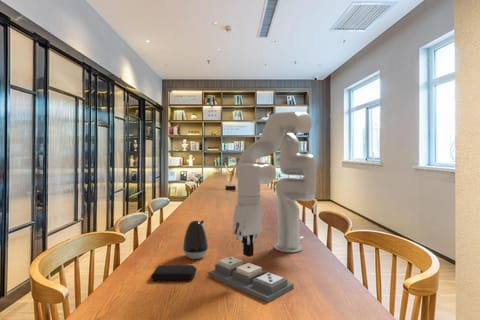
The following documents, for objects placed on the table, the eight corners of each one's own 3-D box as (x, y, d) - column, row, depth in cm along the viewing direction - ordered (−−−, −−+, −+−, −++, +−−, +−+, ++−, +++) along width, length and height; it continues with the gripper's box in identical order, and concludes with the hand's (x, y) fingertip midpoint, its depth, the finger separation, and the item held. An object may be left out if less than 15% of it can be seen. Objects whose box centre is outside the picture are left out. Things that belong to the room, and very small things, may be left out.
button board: (234, 265, 116) (234, 256, 116) (293, 288, 98) (293, 277, 97) (208, 275, 107) (208, 266, 107) (267, 302, 88) (267, 290, 88)
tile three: (268, 278, 100) (268, 271, 100) (283, 284, 96) (283, 277, 96) (256, 284, 96) (256, 277, 96) (271, 290, 92) (271, 283, 92)
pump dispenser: (213, 255, 128) (212, 219, 128) (197, 263, 119) (197, 224, 119) (194, 251, 133) (193, 216, 133) (177, 258, 124) (177, 221, 124)
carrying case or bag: (197, 270, 113) (157, 270, 113) (197, 262, 113) (157, 262, 113) (193, 283, 102) (149, 283, 102) (193, 274, 102) (149, 274, 102)
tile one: (248, 268, 107) (248, 262, 106) (261, 273, 102) (261, 266, 102) (236, 273, 102) (236, 266, 102) (249, 278, 98) (249, 271, 98)
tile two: (230, 261, 113) (230, 255, 113) (242, 266, 109) (242, 259, 109) (218, 266, 109) (218, 260, 108) (230, 270, 104) (230, 264, 104)
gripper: (255, 197, 109) (254, 248, 110) (224, 201, 99) (224, 257, 99) (271, 199, 104) (271, 252, 104) (241, 204, 93) (240, 263, 94)
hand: (248, 255), depth 102 cm, fingers closed
